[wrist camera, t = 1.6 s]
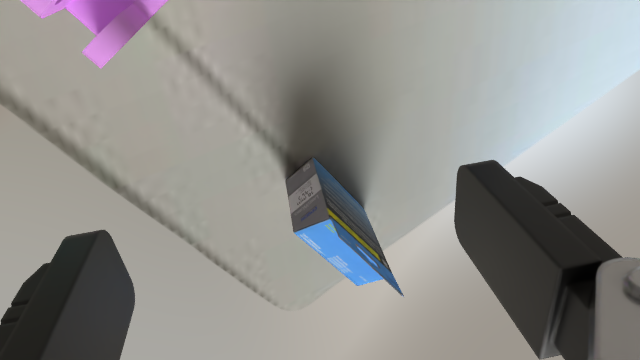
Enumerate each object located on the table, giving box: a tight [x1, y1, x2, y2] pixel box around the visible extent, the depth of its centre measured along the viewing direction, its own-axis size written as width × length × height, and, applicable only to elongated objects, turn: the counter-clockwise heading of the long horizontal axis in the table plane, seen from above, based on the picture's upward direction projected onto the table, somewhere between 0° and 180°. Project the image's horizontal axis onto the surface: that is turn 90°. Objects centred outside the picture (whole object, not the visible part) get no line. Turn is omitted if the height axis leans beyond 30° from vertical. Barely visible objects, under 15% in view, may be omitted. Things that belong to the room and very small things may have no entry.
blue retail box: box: [286, 158, 404, 297], centre depth 38 cm, size 9×4×12 cm, turn 40°
